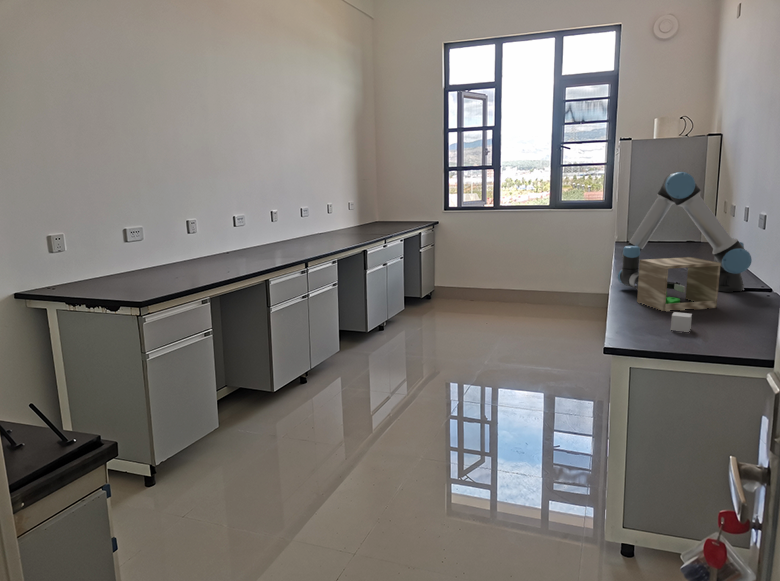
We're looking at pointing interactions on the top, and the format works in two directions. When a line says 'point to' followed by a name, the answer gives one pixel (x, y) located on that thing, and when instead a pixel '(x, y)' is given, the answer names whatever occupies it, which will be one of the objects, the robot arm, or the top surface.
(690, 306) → the cubby box
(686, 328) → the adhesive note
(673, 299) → the mechanical part
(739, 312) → the top surface
